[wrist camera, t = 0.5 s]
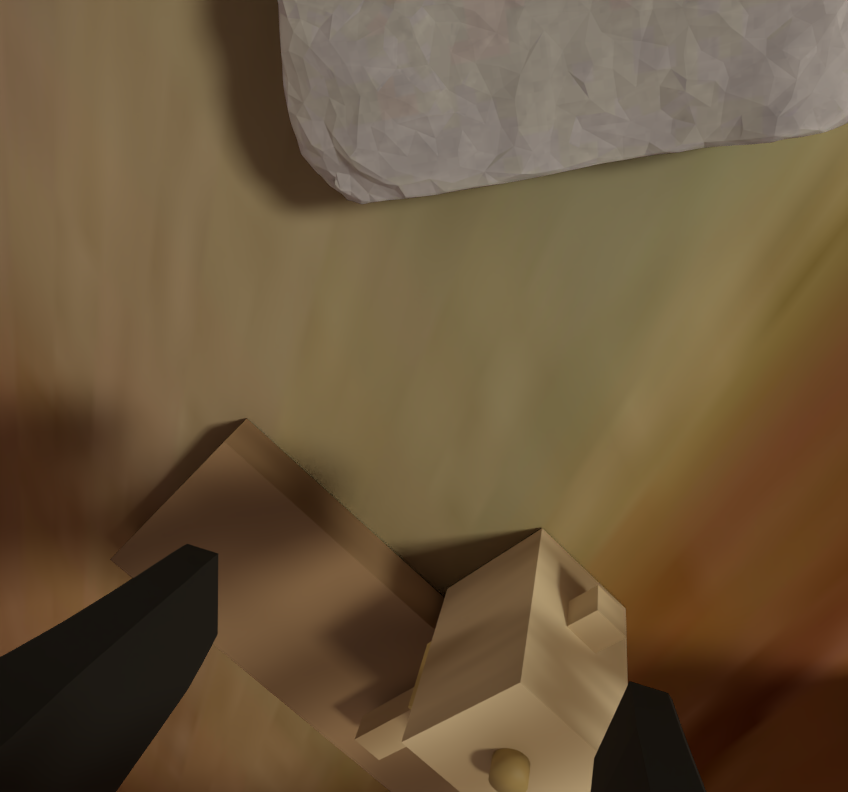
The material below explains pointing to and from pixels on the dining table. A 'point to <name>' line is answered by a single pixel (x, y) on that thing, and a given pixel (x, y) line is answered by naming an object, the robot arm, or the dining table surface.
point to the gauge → (513, 677)
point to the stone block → (548, 84)
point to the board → (302, 594)
